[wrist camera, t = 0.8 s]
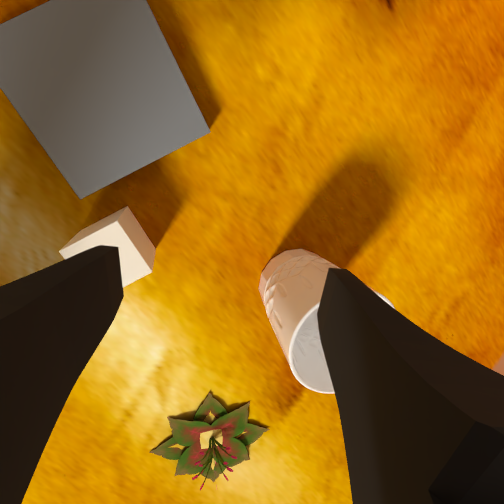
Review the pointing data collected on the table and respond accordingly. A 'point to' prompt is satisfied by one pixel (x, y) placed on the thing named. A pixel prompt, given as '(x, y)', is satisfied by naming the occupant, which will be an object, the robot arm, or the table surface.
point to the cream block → (117, 243)
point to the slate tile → (97, 88)
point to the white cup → (299, 312)
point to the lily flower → (222, 454)
